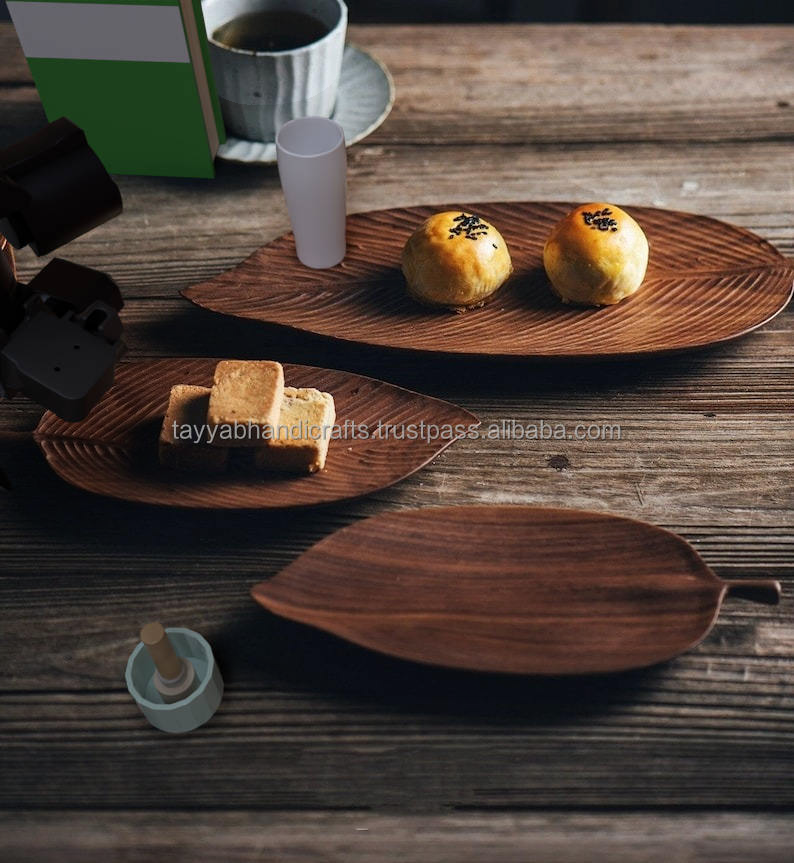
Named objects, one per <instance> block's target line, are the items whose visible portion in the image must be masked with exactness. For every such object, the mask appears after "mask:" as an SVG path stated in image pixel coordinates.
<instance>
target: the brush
mask: <svg viewBox="0 0 794 863" xmlns="http://www.w3.org/2000/svg"><path fill="white" fill-rule="evenodd" d="M165 629H166V628H165V627H164V625H163V624H161V623H159V622H156V621H155V622H154V621H153V622H149V623H146V624H145V625H144V626H143V627H142V629H141V630H140V633H139V634H140V635H139V637H140V640H141V642H143V644H144V645H145V647H146V649H147V651H148V653H149V655H150V657H151V658H152V660H153V662H154V664H155V666H156V670H155V672H154V675H153V683H154V686H155V688H156V689H157V691H158V693H159V695H160V697H161V698H162V700H163V702H164V703H165V704H173V703H176V702H179V701H182V700H184V699H186V698H188V697H189V696H190V695H191V694H193V693H194V692H195V691H196V690H197V689H199V687H200V685H201V682H200V680H199V678H198V675H197V673H196V671H195V669H194V667H193V665H192V663H191V662H190V661H189V660H188V659H186V658H184V657H179V656H177V654H176V652H175V650H174V648H173V646H172V644H171V642H170V640H169V638H168V636H167V634H166V632H165Z"/></svg>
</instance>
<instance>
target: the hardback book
mask: <svg viewBox="0 0 794 863" xmlns="http://www.w3.org/2000/svg"><path fill="white" fill-rule="evenodd" d="M5 3H6V7H7V10H8V12H9V15H10V17H11V20H12V23H13V26H14V29H15V32H16V34H17V37H18V40H19V44H20V45H21V49H22V51H23V54H24V58H25V60H26V63H27V65H28V69H29V71H30V74H31V76H32V79H33V82H34V85H35V87H36V90H37V93H38V96H39V99H40V102H41V105H42V107H43V110H44V113H45V116H46V119H47V122H48V124H49V123H51V122H53V121H55V120H57V119H59V118H61V117H63V116H64V117H67V118H68V119H69V120H71V121H72V122H73V123H75V124H76V125H77V126H79V127H80V128H81V129H83V130H84V132H85V136H86V139H87V142H88V145H89V146H90V147H91V148H92V149H93V151H94V152H95V153H96V155H97V156H98V157H99V159H100V160H101V162H102V164H103V165H104V167H105V168H106V170H107V172H108V174H109V175H126V176H127V175H129V176H131V175H132V176H153V177H176V178H198V179H199V178H200V179H215V178H216V169H215V164H214V161H215V158H216V155H217V152H218V148H219V146H221V145H222V146H225V145H227V141H228V139H227V134H226V128H225V122H224V118H223V113H222V112H223V111H222V108H221V107H222V106H221V102H220V96H219V91H218V85H217V80H216V75H215V70H214V64H213V59H212V54H211V48H210V43H209V37H208V32H207V27H206V22H205V17H204V16H205V15H204V11H203V6H202V0H5Z"/></svg>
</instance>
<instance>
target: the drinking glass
mask: <svg viewBox="0 0 794 863" xmlns="http://www.w3.org/2000/svg"><path fill="white" fill-rule="evenodd" d="M274 141H275V153H276V154H275V155H276V163H277V169H278V176H279V180H280V181H279V182H280V185H281V189H282V193H283V197H284V201H285V205H286V206H285V207H286V210H287V213H288V218H289V222H290V228H291V232H292V234H293V239H294V244H295V252H296V256H297V258H298V260H299V262H300V263H301V264H303V265H304V266H305V267H308V268H311V269H318V270H323V269H331V268H332V267H335V266H337V265H338V264H340V263H341V262H342V261H343V260H344V258H346V254H347V239H346V238H347V237H346V235H347V234H346V233H347V232H346V230H347V229H346V228H347V201H348V200H347V198H348V197H347V196H348V154H347V146H346V137H345V132H344V130H343V127H342V126H341V125H340V124H339V123H337V122H336V121H335V120H333V119H331V118H328V117H324V116H317V115H307V116H300V117H297V118H293V119H291V120H289V121H287V122H285V123H284V124H282V125H281V126H280V127H279V128H278V129H277V131H276V134H275V137H274Z"/></svg>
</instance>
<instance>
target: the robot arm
mask: <svg viewBox="0 0 794 863" xmlns="http://www.w3.org/2000/svg"><path fill="white" fill-rule="evenodd" d="M123 211H124V202H123V198H122V194H121V191H120V187H119V186H118V184H117V183H116V182H115V181H114V180H113V179H112V177H111V175H110V174H108V172H107V170H106V168H105V167H104V165H103V164H102V162H101V160H100V159H99V157H98V156H97V155H96V153H95V152H94V151H93V149H92V148H91V147H90V146H89V145H88V142H87V139H86V136H85V132H84V130H83V129H81V128H80V127H79V126H77V125H76V124H75V123H73V122H72V121H71V120H69V119H68V118H67V117H64V116H63V117H61V118H59V119H57V120H55V121H53V122H51V123H49V122H48V123H47V124H45V125H44V126H43V127H42V128H41V129H39V130H38V131H36V132H35V133H32V134H30V135H28V136H26V137H25V138H22V139H20V140H18V141H16V142H14V143H12V144H10V145H7V146H5V147H4V148H2V149H0V234H1V236H2V237H3V238H4V239H5V240H6V242H7V243H8V244H9V245H10V246H11V247H12V248H13V249H14V250H17V251H19V250H22V249H24V248H26V247H27V246H28V247H29V248H30V249H31V250H32V252H33V254H34V255H35V256H36V257H37V258H41V257H45V256H47V255H49V254H51V253H52V252H55V251H57V250H58V249H61V248H62V247H64V246H65V245H68V244H70V243H71V242H73V241H74V240H77V239H78V238H80V237H82V236H83V235H85V234H87V233H89V232H91V231H94V229H97V228H98V227H100V226H102V225H104V224H106V223H107V222H109V221H111V220H113V219H115V218H117V217H118V216H120V215H121V214H123ZM125 306H126V305H125V301H124V296H123V295H122V292H121V289H120V286H119V282H118V281H116V279H115V278H114V277H112V276H111V275H110V274H109V273H107V272H104V271H101V270H98V269H94V268H92V267H89V266H87V265H83V264H81V263H78V262H74V261H71V260H68V259H65V258H60V257H57V256H53V258H52V259H51V260H50V261H49V262H48V263H46V265H45V266H43V268H42V269H40V270H39V271H38V272H37V273H36V275H35V276H34V277H32V279H31V280H30V281H28V283H23V282H20V281H18V280H17V278H16V276H15V274H14V272H13V269H12V268H11V265H10V263H9V261H8V259H7V257H6V254H5V251H4V250H3V248H2V246H1V244H0V403H1V402H2V401H4V399H6V400H9V401H12V400H13V399H14V398H15V397H16V396H17V395H18V393H20V394H21V395H22V396H23V397H25V398H26V399H29V400H30V401H32V402H34V403H35V404H37V405H39V406H41V407H42V408H44V409H46V410H47V411H49V412H51V413H52V414H54V415H55V416H56V418H58V419H60V420H62V421H64V422H66V423H69V424H77V423H80V422H82V421H84V420H85V419H86V418H88V416H89V415H90V414H91V412H92V410H93V409H94V408H95V406H96V405H97V404H98V403H99V402H100V400H101V399H102V398H103V397H104V396H105V395H106V394H107V392H109V391H110V390H111V389H112V387H113V386H114V384H115V379H116V369H117V366H118V365H119V363H121V361H122V360H123V359H124V358H125V356H126V355H127V354H128V353H129V352H130V348H129V347H128V345H127V344H126V343H125V342H124V341H125V340H126V327H125V325H124V323H123V321H122V319H121V317H120V315H119V313H120V312H121V311H122V310H123V308H125ZM13 489H14V488H13V485H12V482H11V480H10V478H9V476H8V475H7V473H6V471H5V470H4V469H3V467H2V466H1V465H0V490H2V491H4V492H7V493H11V491H12V490H13Z"/></svg>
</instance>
